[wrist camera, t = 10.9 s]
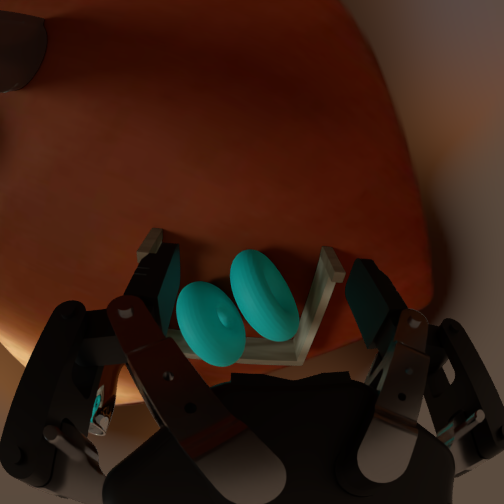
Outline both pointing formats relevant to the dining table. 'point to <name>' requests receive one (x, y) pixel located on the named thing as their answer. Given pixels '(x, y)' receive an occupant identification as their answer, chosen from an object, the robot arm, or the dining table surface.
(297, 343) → the box
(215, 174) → the dining table surface
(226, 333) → the teal diabolo
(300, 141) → the dining table surface
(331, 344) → the dining table surface
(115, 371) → the beer glass
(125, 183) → the dining table surface
